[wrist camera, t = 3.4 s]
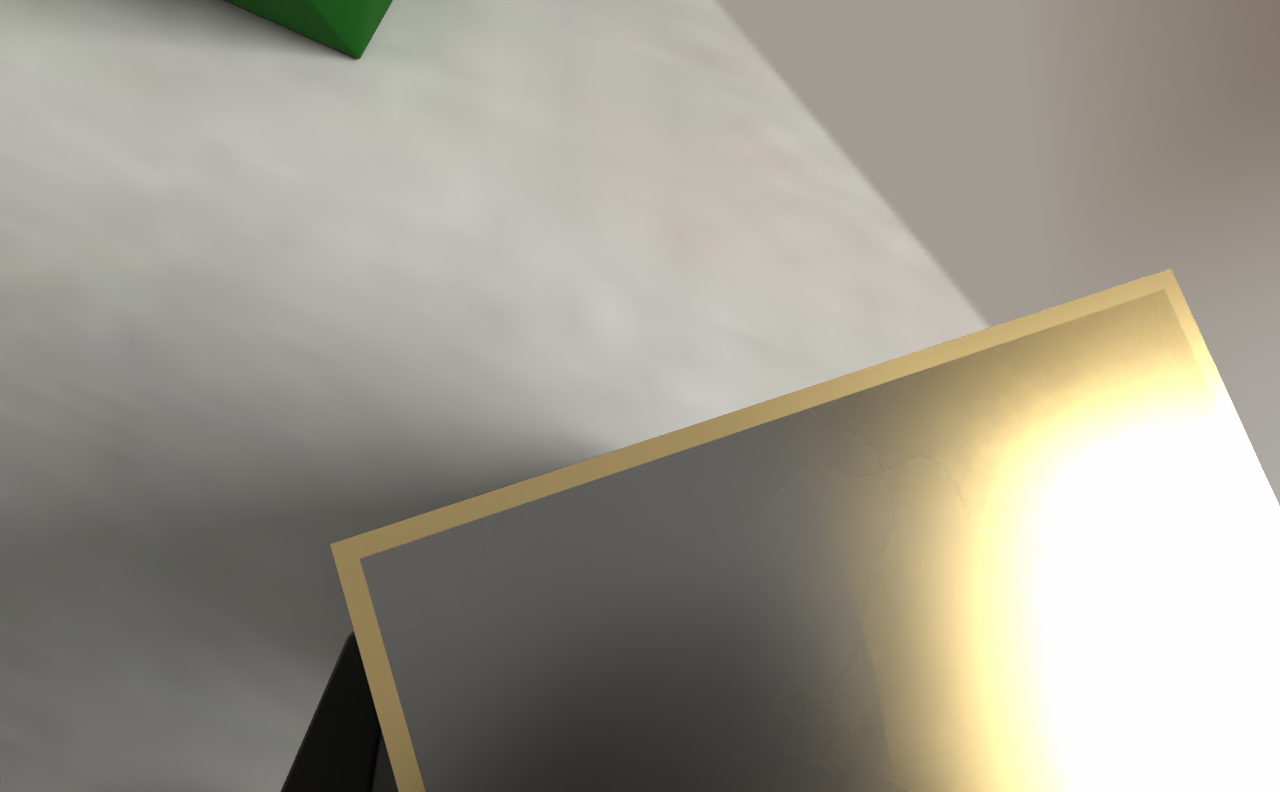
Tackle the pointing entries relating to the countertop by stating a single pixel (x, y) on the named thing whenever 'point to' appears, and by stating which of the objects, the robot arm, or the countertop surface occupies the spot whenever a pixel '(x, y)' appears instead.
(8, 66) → the countertop surface
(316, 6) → the milk carton
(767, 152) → the countertop surface
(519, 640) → the tea canister
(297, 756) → the robot arm
